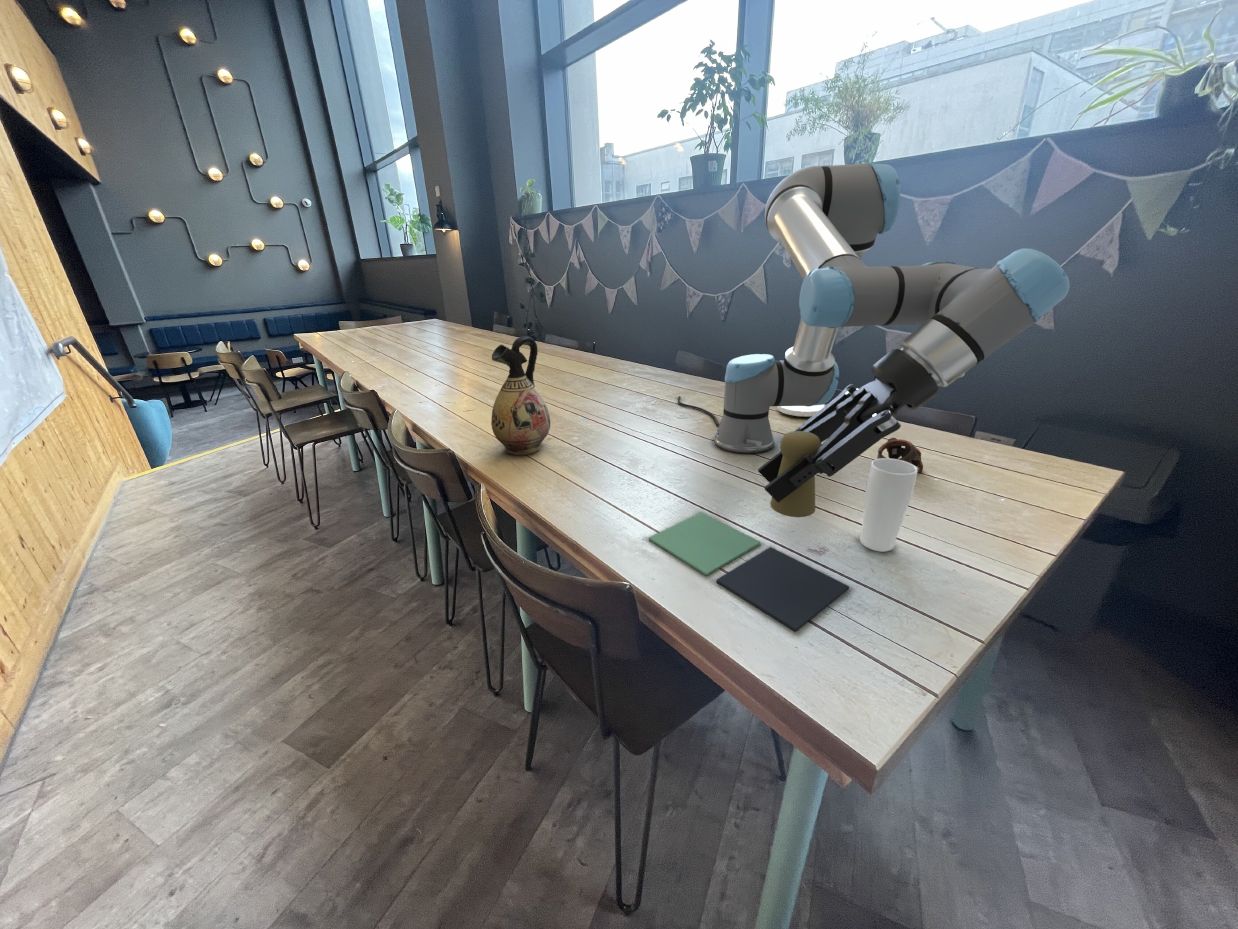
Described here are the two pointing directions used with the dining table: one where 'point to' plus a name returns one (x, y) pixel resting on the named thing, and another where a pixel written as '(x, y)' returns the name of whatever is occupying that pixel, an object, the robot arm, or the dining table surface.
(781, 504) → the olive game pawn
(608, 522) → the dining table surface
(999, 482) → the dining table surface
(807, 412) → the plastic lid
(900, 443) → the brown notched ring
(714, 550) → the sage mat
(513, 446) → the ceramic jug
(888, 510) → the drinking glass
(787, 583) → the slate mat
